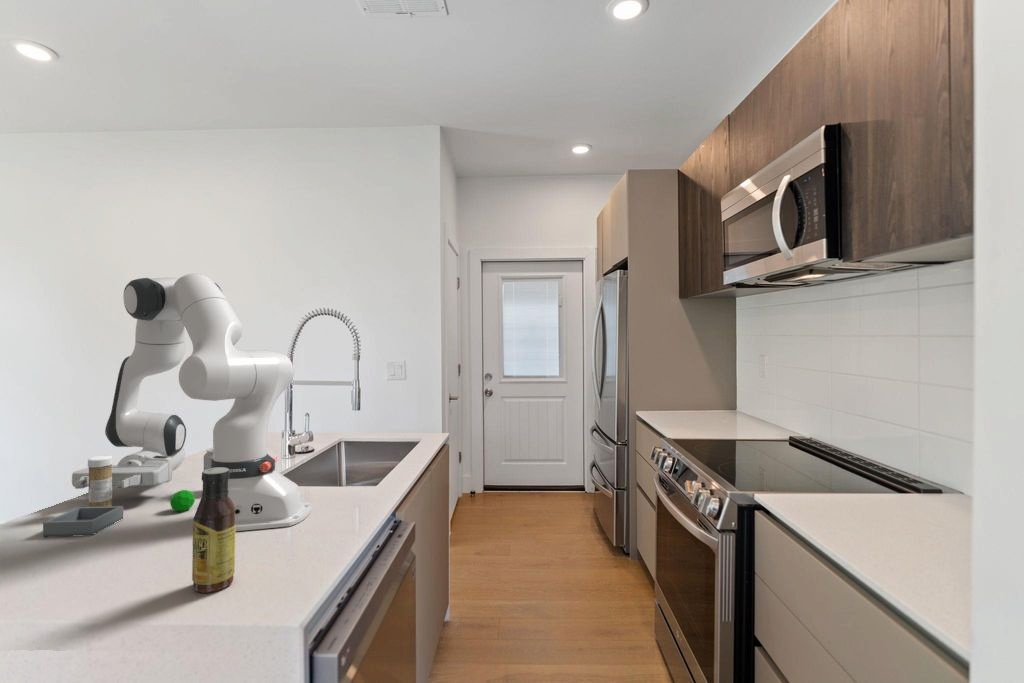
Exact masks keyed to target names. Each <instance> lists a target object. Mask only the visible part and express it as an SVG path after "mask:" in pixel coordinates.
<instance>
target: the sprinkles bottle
mask: <svg viewBox="0 0 1024 683" xmlns="http://www.w3.org/2000/svg"><path fill="white" fill-rule="evenodd" d="M113 461H114V460H113V456H112V455H97V456H92V457H89V458H88V459H87V468H89V487H88V493H87V494H88V496H87V497H88V498H87V500H88V507H110V506H113V502H112V500H113V486H112V465H114V464H113V463H114V462H113Z"/></svg>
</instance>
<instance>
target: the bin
mask: <svg viewBox="0 0 1024 683" xmlns="http://www.w3.org/2000/svg"><path fill="white" fill-rule="evenodd" d="M121 519H123V520H124V506H123V505H121V506H119V505H117V506H113V505H112V506H110V507H89V506H78V507H76V508H74V509H71V510H69V511H66V512H64V513H62V514H60V515H57V516H55V517H52V518H51V519H49V520H46V521H44V522H43V524H42V535H43V536H60V537H74V536H73V535H92V536H94V535H95V534H94V533H96V534H98V533H99V532H98V531H100V530H102V529H104V528H106V527H108V526H109V527H111V526H113V525H115V524H116V523H115V522H117V521H119V520H121ZM121 521H122V520H121ZM119 522H120V521H119ZM114 523H115V524H114ZM117 523H118V522H117ZM112 524H113V525H112ZM110 525H111V526H110ZM109 527H108V528H109ZM106 529H107V528H106ZM104 530H105V529H104ZM102 531H103V530H102ZM97 532H98V533H97ZM100 532H101V531H100ZM93 534H94V535H93ZM43 536H42V537H43Z"/></svg>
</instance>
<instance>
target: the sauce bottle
mask: <svg viewBox="0 0 1024 683" xmlns="http://www.w3.org/2000/svg"><path fill="white" fill-rule="evenodd" d="M229 474H230V472H229V469H228V468H225V467H216V468H210V469H206V470H204V469H203V471H202V472H201V481H202V493H201V497H200V501H199V502H198V503H199V504H198V506H197V508H196V511H195V513H194V516H193V519H192V524H193V525H192V564H191V565H192V570H191V571H192V572H191V574H192V576H191V579H192V580H191V581H192V583H193V585H192V586H193V587H192V588H193V590H194V591H195V592H198V593H201V594H208V593H213V592H217V591H220V590H223V589H225V588H227V587H229V586H230V585H232V583H233V581H234V575H235V570H236V569H235V568H236V567H235V566H236V565H235V564H236V562H235V561H236V531H235V528H236V522H235V506H234V504H233V502H232V500H231V499H230V498H229V496H228V493H229V491H228V479H229V476H230V475H229Z"/></svg>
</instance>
